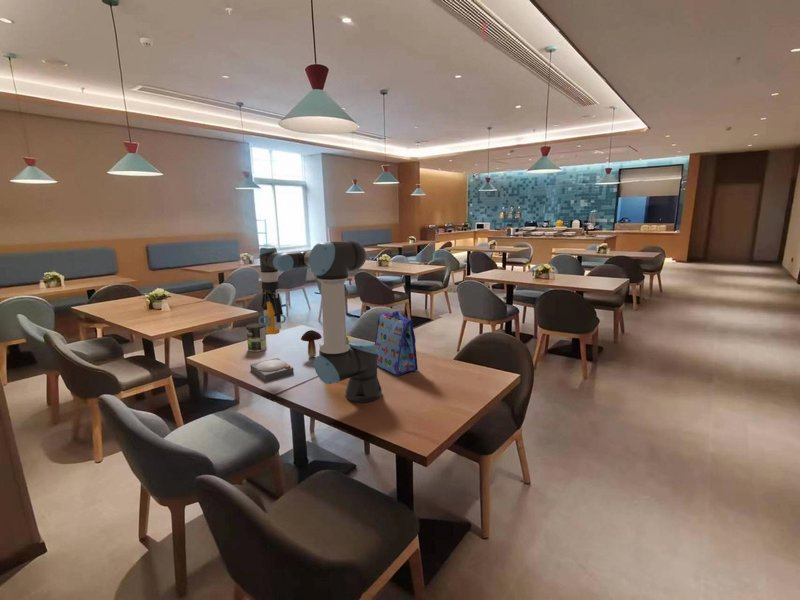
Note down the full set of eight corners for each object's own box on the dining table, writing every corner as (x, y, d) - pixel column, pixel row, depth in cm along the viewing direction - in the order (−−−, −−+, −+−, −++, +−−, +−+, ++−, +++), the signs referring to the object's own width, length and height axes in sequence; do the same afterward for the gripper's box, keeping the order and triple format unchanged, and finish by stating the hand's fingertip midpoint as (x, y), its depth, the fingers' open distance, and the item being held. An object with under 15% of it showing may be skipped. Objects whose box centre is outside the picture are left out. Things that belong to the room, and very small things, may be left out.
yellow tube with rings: (276, 337, 182) (274, 305, 179) (256, 335, 184) (253, 304, 181) (289, 330, 194) (287, 299, 190) (269, 328, 196) (268, 298, 192)
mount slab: (293, 373, 191) (293, 366, 191) (265, 381, 182) (264, 373, 182) (277, 363, 205) (277, 356, 204) (250, 370, 196) (250, 363, 195)
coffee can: (252, 353, 221) (250, 328, 218) (245, 348, 228) (243, 324, 225) (270, 348, 227) (268, 325, 225) (262, 344, 235) (260, 321, 232)
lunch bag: (418, 370, 195) (418, 313, 189) (396, 377, 187) (395, 317, 181) (392, 358, 212) (392, 305, 206) (370, 364, 204) (369, 309, 198)
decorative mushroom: (301, 361, 207) (300, 333, 204) (301, 354, 218) (300, 328, 215) (323, 359, 210) (322, 332, 207) (322, 353, 220) (321, 326, 217)
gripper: (288, 283, 177) (291, 330, 181) (267, 276, 195) (270, 319, 200) (272, 285, 172) (275, 333, 177) (252, 278, 190) (255, 321, 195)
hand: (272, 325), depth 188 cm, fingers closed on yellow tube with rings, 12 cm apart
